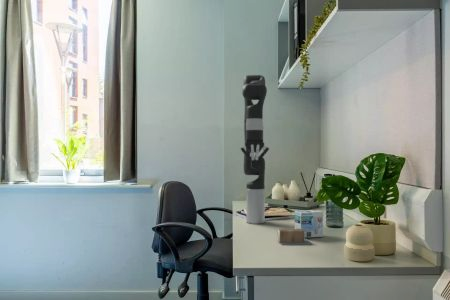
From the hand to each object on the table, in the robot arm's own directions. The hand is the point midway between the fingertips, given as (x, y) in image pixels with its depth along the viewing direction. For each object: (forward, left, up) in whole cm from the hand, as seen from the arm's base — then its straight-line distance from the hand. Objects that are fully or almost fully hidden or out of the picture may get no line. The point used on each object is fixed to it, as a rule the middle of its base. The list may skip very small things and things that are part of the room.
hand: (254, 168), depth 177 cm
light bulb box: (+5, +23, -29) cm, 37 cm away
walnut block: (+14, +8, -26) cm, 31 cm away
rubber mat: (+14, +15, -29) cm, 35 cm away
